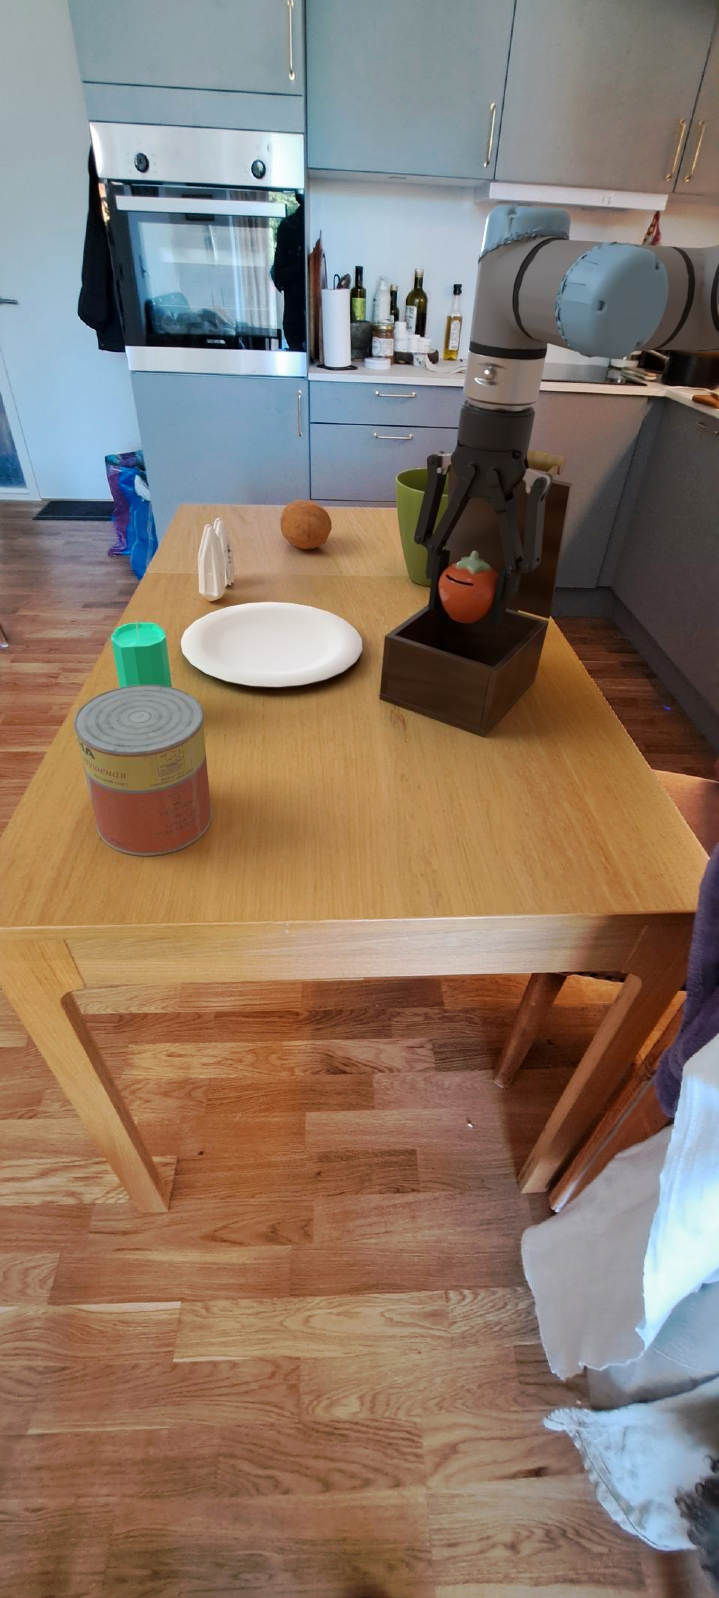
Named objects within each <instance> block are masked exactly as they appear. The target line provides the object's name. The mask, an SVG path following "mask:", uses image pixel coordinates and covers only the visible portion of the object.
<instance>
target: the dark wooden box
mask: <svg viewBox="0 0 719 1598" xmlns="http://www.w3.org/2000/svg"><path fill="white" fill-rule="evenodd" d="M491 613H492V610H491V611H490V612H489V614H488V615H486V616H485V617H484V618H482V619H481V620H479V621H477V622H474V623H462V622H458V621H455V620H453V619H452V618H451V617H450V616H449V614H448V613H447V612H446V611H445V609H444V607H443V605H442V604H441V605H440V606H438V607H437V608H436V609H434V610H432V609H428V604H426V605H425V606H423V607H422V608H421V609H420V610H418V611H417V612H415V613H414V614H412V615H411V616H410V617H408V618H407V619H406V620H404V621H403V622H402V623H400V624H399V625H397V626H396V627H395V628H393V629H392V630H390V631H389V632H388V633H386V634H385V635H384V640H383V652H382V662H381V663H382V664H381V675H380V687H379V700H382V701H384V702H385V703H389V704H392V705H394V706H397V707H400V708H403V709H406V710H408V711H412V712H414V713H415V714H416V713H417V714H419V715H422V716H425V717H428V718H430V719H433V720H436V721H438V722H441V723H444V724H446V725H450V726H452V727H455V728H458V729H460V730H463V731H466V732H469V733H471V734H474V735H477V736H479V737H483V738H486V737H487V736H488V735H489V733H491V731H492V730H493V729H494V728H495V727H496V726H497V725H498V724H499V722H500V721H501V720H502V719H503V718H504V717H505V715H506V714H508V712H509V711H510V710H511V709H512V708H513V707H514V705H515V704H516V703H517V702H518V701H520V699H521V697H522V696H523V695H524V694H525V693H526V692H527V691H528V690H529V689H530V688H531V687H532V685H533V684H534V683H535V682H536V679H537V675H538V674H537V673H538V669H539V666H540V661H541V656H542V652H543V648H544V643H545V639H546V635H547V632H548V627H549V622H550V621H549V620H548V619H545V618H543V619H542V618H540V617H538V616H535V615H531V614H528V613H524V612H521V611H519V612H516V611H513V610H509V609H506V612H505V617H504V621H503V622H502V623H501V624H500V625H498V626H497V627H496V628H495V629H494V628H491V627H489V624H490V619H491Z"/></svg>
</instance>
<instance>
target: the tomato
mask: <svg viewBox="0 0 719 1598" xmlns="http://www.w3.org/2000/svg"><path fill="white" fill-rule="evenodd" d="M497 580H498V573H497V571H496V570H495V569H493V568H492V567H490V565H489V564H488V563H487V562H485V560H484V559H482V558H479V553H478V551H473V552H472V553H471V556H470V557H462V558H461V561H459V562H456V563H453V564H451V565H450V566H448V567H447V568H445V569H444V571H443V572H442V574H441V576H440V580H439V583H438V587H439V595H440V599H441V602H442V605H443V607H444V609H445V611H446V612H447V613H448V614H449V616H450V617H451V618H452V619H453V620H455V621H458V622H462V623H474V622H477V621H479V620H481V619H482V618H484V617H485V616H486V615H488V614H489V612H490V611H491V610H492V608H493V602H494V596H495V591H496V585H497Z"/></svg>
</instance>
